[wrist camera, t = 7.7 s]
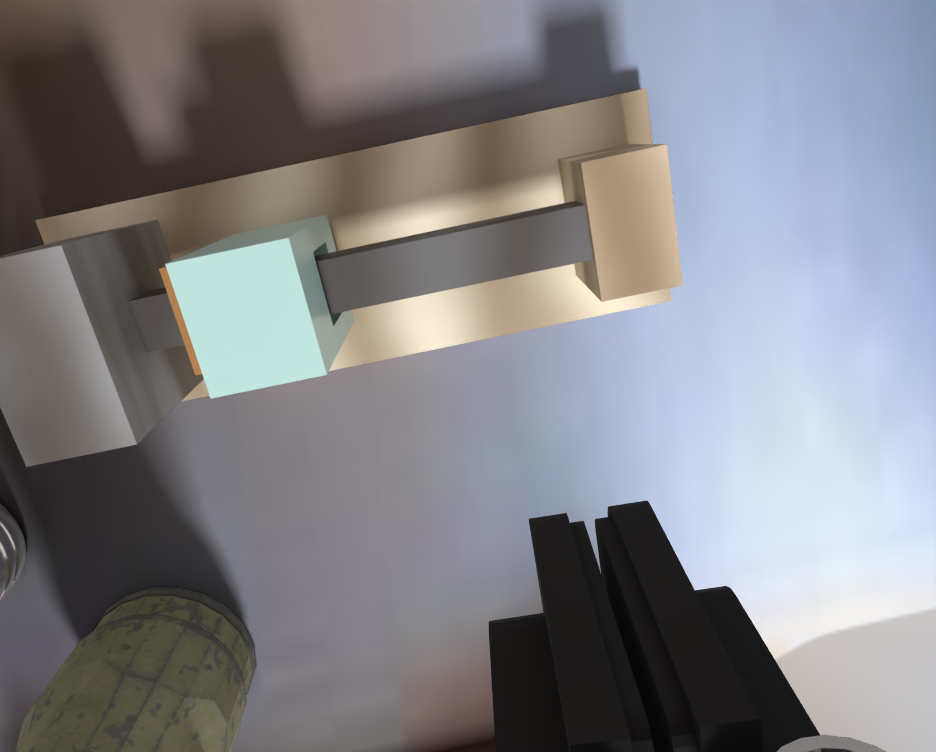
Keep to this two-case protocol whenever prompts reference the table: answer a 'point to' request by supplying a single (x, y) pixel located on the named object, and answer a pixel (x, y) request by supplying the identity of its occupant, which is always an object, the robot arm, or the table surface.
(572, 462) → the table surface
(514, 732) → the robot arm
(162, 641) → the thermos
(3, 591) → the water bottle
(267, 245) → the mint green boxy block
